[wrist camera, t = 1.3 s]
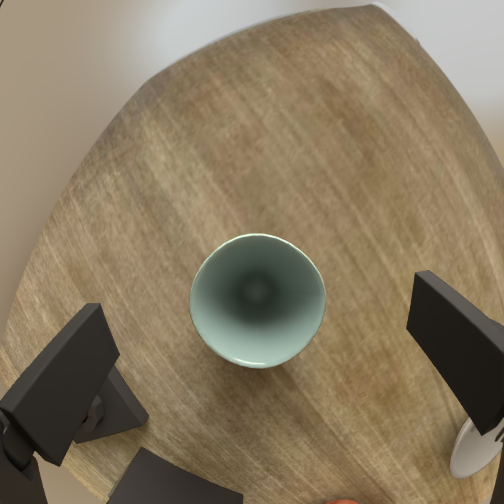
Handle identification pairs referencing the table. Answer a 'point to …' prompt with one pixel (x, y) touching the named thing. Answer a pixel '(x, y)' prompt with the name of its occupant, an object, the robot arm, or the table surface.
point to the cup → (257, 301)
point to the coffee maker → (166, 485)
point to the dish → (474, 450)
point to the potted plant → (342, 502)
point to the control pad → (111, 410)
